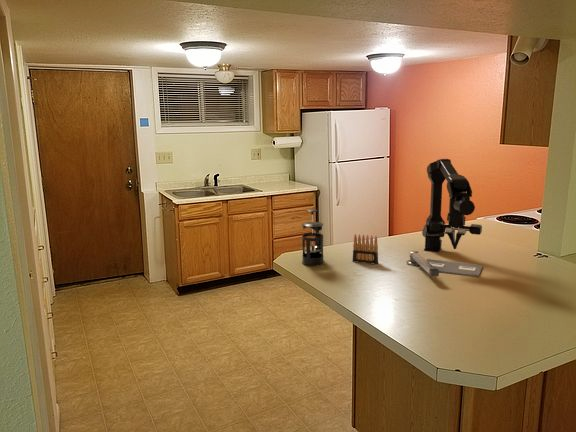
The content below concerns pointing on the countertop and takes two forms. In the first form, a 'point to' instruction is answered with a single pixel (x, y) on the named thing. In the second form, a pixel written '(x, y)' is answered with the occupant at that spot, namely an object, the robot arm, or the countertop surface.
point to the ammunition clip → (365, 250)
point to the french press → (316, 252)
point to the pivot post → (412, 262)
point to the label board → (456, 267)
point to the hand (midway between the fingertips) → (454, 248)
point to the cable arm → (424, 263)
